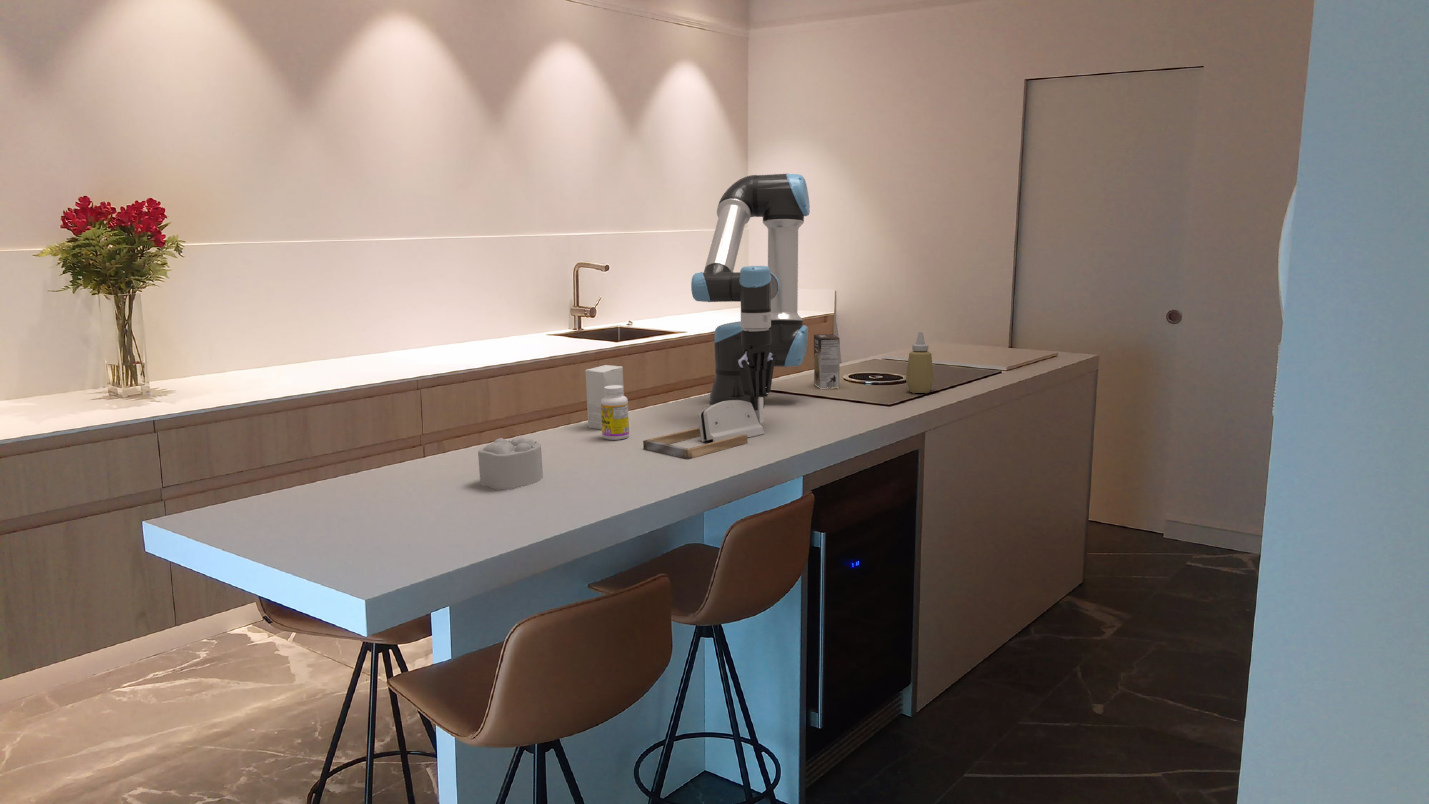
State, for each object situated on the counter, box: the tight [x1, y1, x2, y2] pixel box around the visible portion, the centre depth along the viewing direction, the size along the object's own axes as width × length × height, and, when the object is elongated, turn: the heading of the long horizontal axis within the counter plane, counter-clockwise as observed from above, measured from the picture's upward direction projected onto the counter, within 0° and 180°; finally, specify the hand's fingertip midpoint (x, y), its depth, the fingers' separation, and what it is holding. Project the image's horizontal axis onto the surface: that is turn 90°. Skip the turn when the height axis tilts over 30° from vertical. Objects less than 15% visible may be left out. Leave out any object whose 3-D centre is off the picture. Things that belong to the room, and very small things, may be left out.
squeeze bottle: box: [905, 332, 935, 394], centre depth 285 cm, size 8×8×18 cm
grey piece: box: [697, 400, 765, 443], centre depth 234 cm, size 17×5×10 cm, turn 130°
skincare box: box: [584, 364, 625, 431], centre depth 249 cm, size 8×7×16 cm
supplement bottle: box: [601, 385, 630, 441], centre depth 236 cm, size 7×7×13 cm
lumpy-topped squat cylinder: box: [477, 436, 544, 491], centre depth 200 cm, size 10×13×9 cm
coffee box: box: [813, 333, 841, 388], centre depth 298 cm, size 9×6×16 cm
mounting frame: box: [642, 426, 749, 460], centre depth 226 cm, size 15×20×2 cm
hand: (757, 422), depth 241 cm, fingers closed
